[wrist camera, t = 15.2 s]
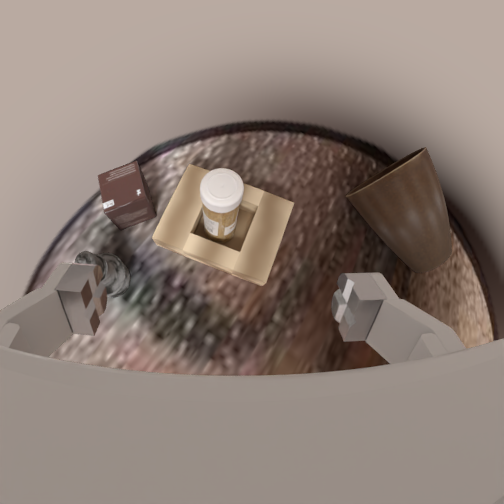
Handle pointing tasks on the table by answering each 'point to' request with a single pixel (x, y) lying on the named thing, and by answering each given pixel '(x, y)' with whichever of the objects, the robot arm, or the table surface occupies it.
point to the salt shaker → (108, 271)
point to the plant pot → (407, 211)
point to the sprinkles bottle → (221, 203)
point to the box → (126, 196)
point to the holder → (244, 240)
